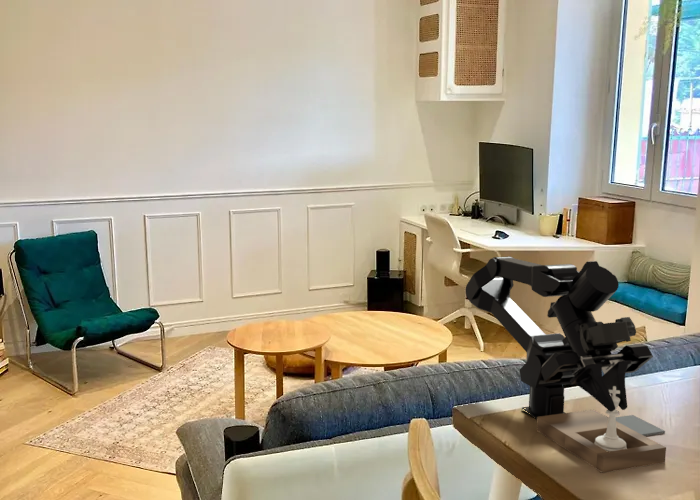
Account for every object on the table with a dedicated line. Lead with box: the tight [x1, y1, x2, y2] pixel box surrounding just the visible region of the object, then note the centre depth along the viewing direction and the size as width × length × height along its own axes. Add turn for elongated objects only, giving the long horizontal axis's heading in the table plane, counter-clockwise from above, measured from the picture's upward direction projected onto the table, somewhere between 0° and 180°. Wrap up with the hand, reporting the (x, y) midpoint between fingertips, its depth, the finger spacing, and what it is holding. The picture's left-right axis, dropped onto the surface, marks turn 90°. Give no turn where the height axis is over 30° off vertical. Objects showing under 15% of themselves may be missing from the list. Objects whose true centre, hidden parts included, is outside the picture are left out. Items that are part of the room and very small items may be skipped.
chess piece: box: [595, 386, 627, 452], centre depth 113 cm, size 5×5×10 cm
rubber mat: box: [616, 414, 666, 437], centre depth 125 cm, size 8×8×1 cm
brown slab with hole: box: [536, 408, 667, 474], centre depth 117 cm, size 18×12×2 cm
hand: (619, 409), depth 112 cm, fingers closed on chess piece
